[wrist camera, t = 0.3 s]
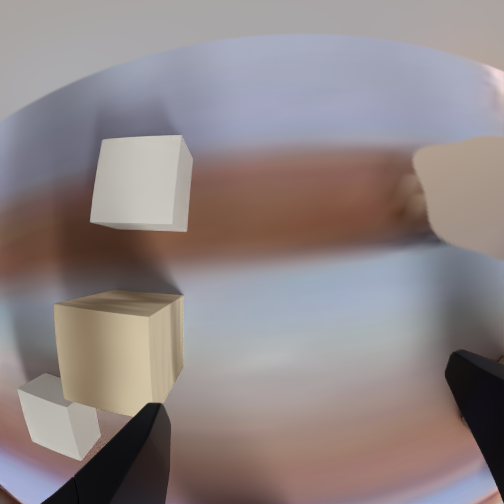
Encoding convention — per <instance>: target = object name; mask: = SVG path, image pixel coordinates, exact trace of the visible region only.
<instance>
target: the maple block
mask: <svg viewBox="0 0 504 504" xmlns="http://www.w3.org/2000/svg"><path fill="white" fill-rule="evenodd" d="M183 311H184V295H173V294H160V293H148V292H136V291H126V290H111V291H107V292H102V293H98V294H94V295H89V296H85V297H81V298H77V299H72V300H68V301H64V302H59V303H55V304H54V322H55V335H56V345H57V354H58V362H59V369H60V376H61V382H62V388H63V393H64V398H65V399H66V400H69V401H72V402H76V403H79V404H83V405H86V406H90V407H94V408H97V409H101V410H105V411H109V412H114V413H118V414H123V415H128V416H133V417H134V416H135V415H136V414H137V413H138V412H139V411H140V410H141V409H142V408H143V407H144V406H145V405H146V404H147V403H149V402H158V403H162V404H163V403H164V402H165V400H166V398H167V396H168V394H169V392H170V390H171V389H172V387H173V385H174V383H175V381H176V379H177V377H178V376H179V374H180V372H181V370H182V368H183Z"/></svg>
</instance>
